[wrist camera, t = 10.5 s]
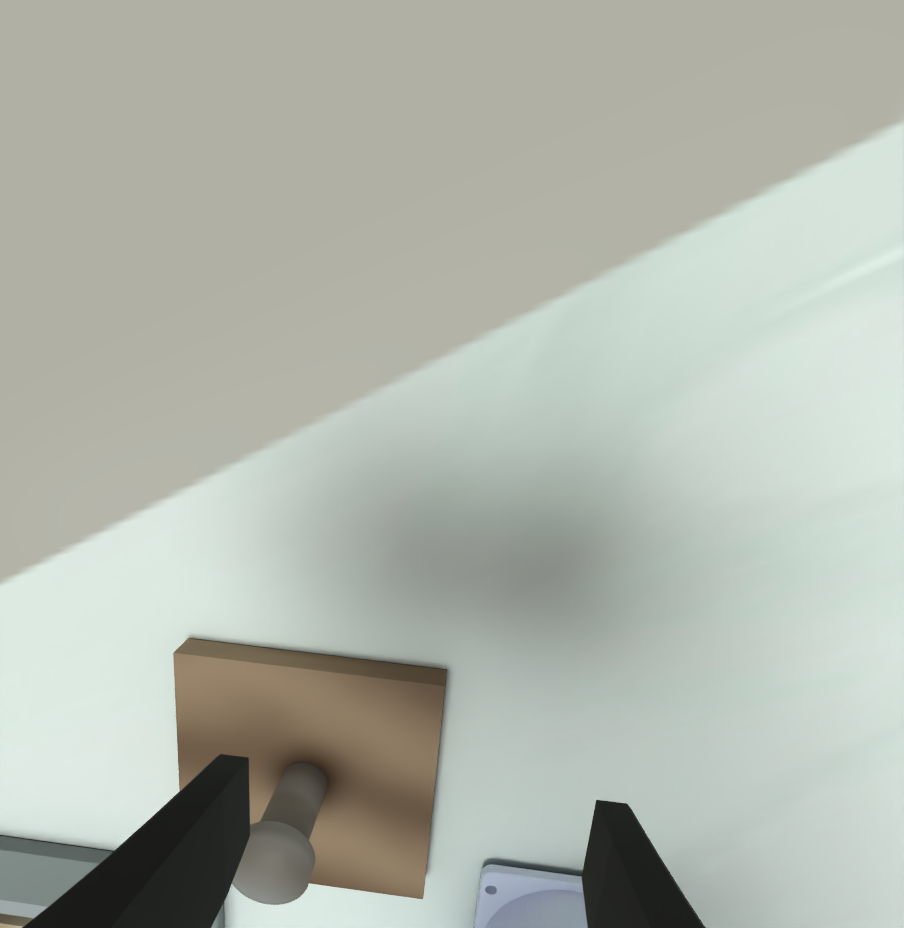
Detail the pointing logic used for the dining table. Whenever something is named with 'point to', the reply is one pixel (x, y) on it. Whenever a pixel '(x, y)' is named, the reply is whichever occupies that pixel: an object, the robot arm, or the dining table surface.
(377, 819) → the block
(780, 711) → the dining table surface
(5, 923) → the wooden knob frame
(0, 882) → the grey rectangular frame
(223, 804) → the robot arm
